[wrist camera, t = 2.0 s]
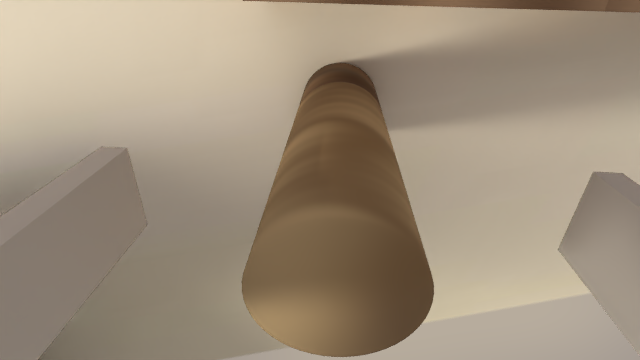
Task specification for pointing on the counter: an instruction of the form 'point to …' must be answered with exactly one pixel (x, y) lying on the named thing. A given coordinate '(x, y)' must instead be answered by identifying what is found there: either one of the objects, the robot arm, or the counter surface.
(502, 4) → the seat board
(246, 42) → the counter surface
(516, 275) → the counter surface
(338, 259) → the oak dowel
